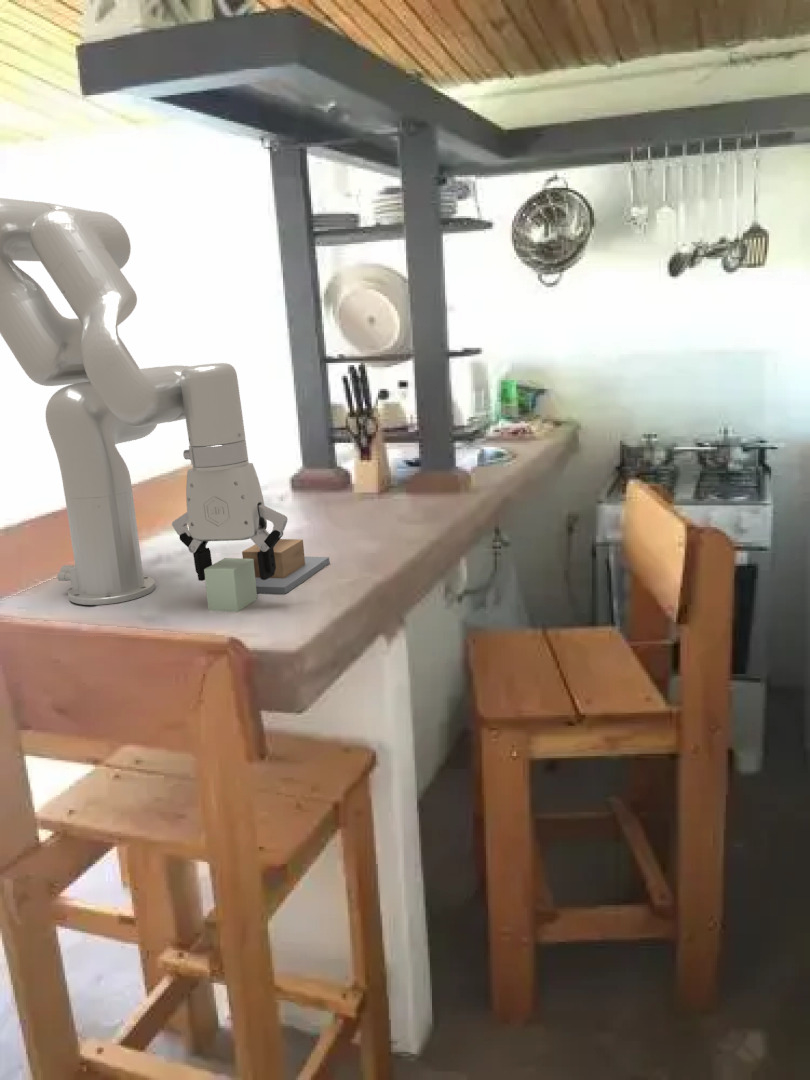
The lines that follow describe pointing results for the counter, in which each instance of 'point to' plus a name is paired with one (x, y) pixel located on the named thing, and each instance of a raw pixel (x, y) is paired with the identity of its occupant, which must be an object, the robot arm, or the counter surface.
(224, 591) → the sage block
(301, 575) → the slate baseplate
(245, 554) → the walnut base block
